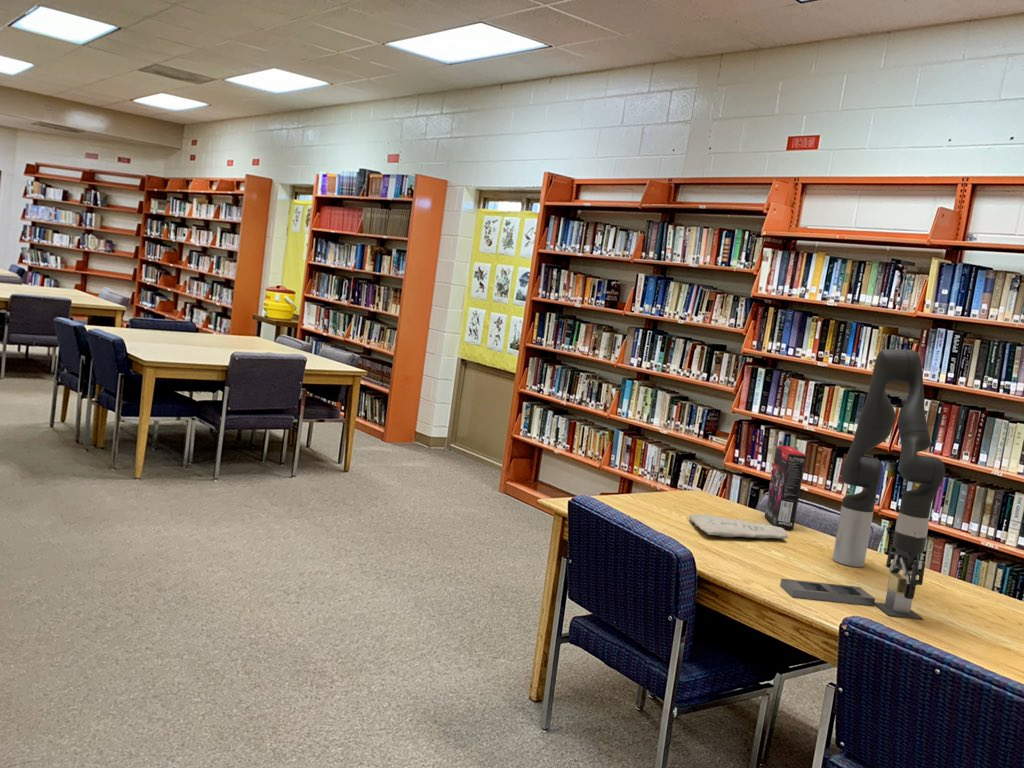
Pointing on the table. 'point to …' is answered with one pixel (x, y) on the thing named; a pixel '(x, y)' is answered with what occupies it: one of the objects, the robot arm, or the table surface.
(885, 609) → the mat
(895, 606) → the block
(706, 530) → the stone
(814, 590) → the grey slotted frame
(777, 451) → the graphics card box
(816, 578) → the table surface
